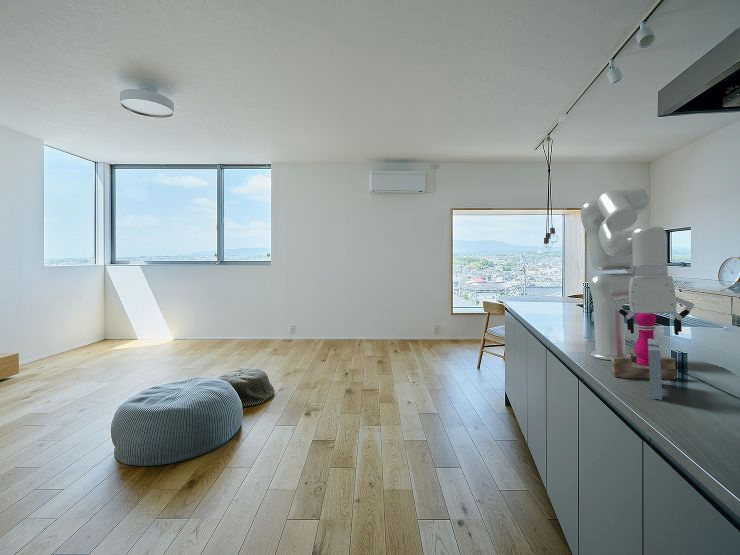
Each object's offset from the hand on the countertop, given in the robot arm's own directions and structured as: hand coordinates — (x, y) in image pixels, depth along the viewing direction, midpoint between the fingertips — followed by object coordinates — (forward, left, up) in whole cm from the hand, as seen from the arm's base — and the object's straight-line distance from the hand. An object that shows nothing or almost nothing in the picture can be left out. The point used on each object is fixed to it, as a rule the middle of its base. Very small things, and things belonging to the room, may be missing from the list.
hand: (653, 333), depth 100 cm
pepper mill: (-30, -7, -16) cm, 35 cm away
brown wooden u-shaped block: (-12, -5, -16) cm, 21 cm away
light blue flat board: (0, 0, -16) cm, 16 cm away
